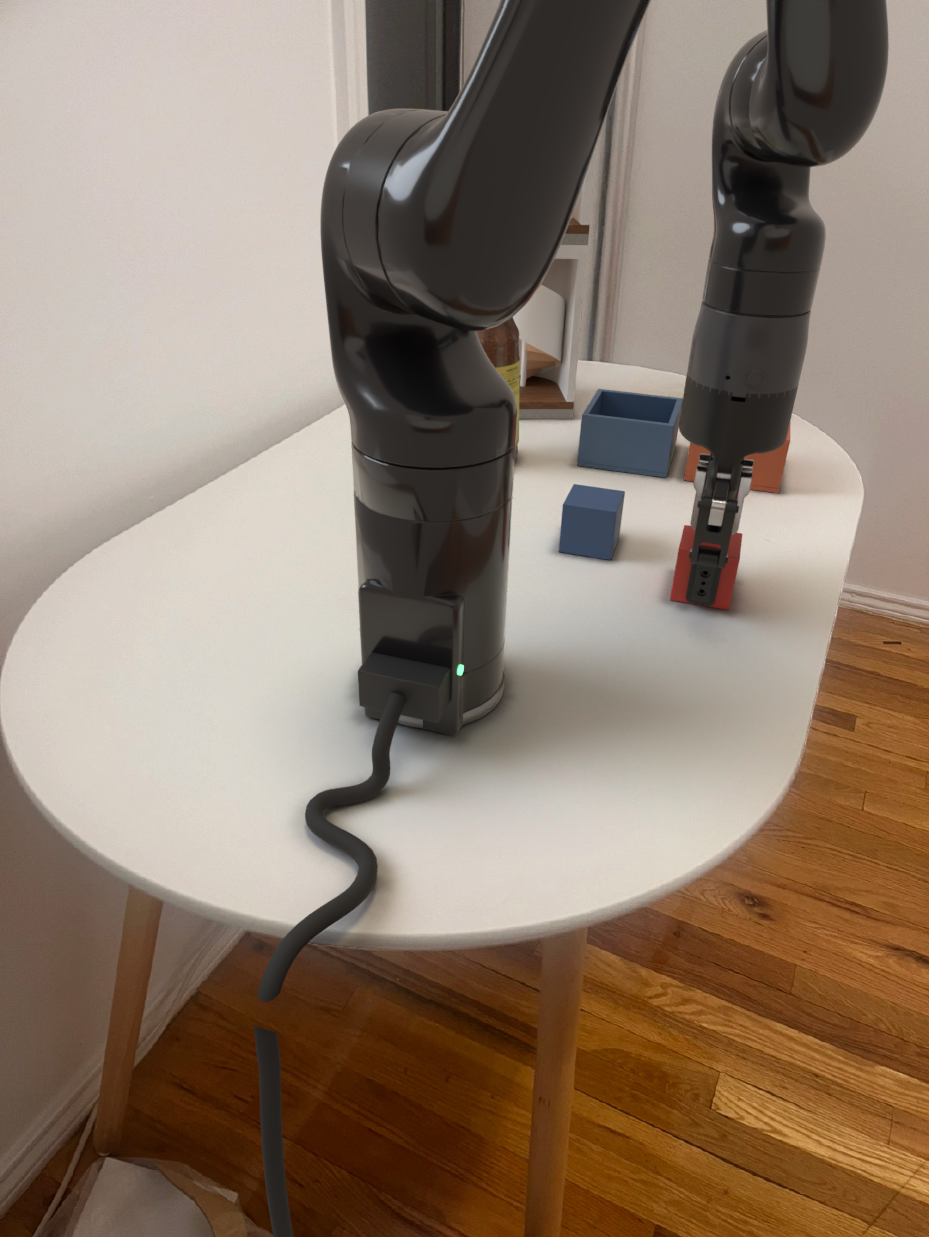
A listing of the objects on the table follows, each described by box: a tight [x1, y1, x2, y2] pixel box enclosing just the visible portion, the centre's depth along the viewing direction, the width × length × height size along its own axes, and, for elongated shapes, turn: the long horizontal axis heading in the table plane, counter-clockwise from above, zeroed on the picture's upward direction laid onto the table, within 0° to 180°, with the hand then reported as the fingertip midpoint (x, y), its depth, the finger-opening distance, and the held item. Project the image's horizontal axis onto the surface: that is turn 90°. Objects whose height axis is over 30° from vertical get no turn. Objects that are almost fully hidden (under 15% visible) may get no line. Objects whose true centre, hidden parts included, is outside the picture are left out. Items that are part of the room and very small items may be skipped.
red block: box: [669, 524, 743, 611], centre depth 69 cm, size 4×4×4 cm
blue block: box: [558, 483, 626, 561], centre depth 75 cm, size 4×4×4 cm
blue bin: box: [576, 388, 683, 479], centre depth 93 cm, size 9×9×6 cm
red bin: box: [683, 424, 791, 494], centre depth 90 cm, size 9×9×6 cm
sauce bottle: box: [476, 317, 520, 460], centre depth 88 cm, size 6×6×20 cm
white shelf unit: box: [513, 144, 598, 420], centre depth 99 cm, size 11×11×35 cm
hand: (702, 585), depth 70 cm, fingers closed on red block, 4 cm apart
